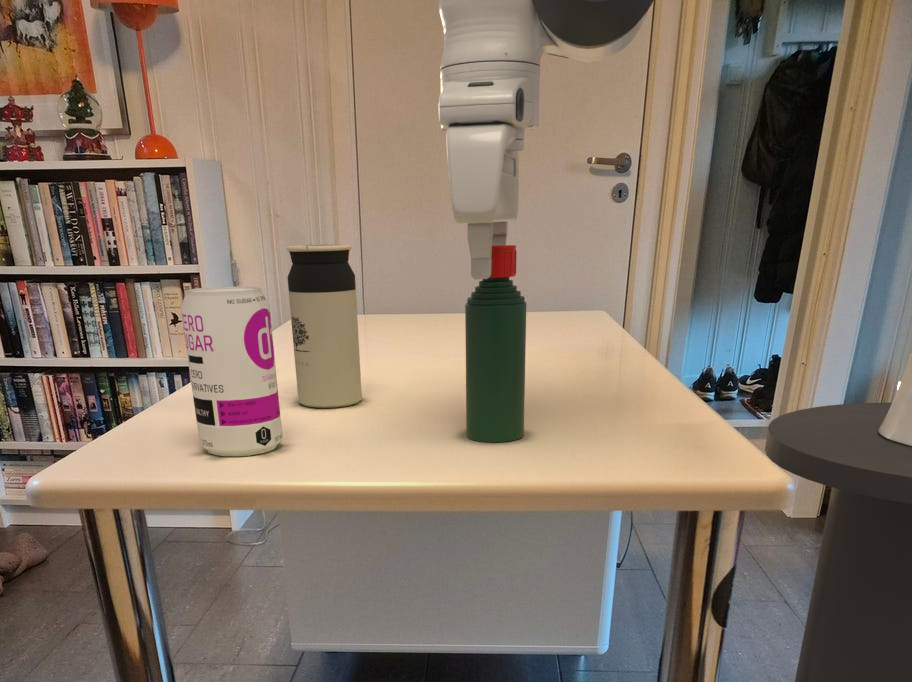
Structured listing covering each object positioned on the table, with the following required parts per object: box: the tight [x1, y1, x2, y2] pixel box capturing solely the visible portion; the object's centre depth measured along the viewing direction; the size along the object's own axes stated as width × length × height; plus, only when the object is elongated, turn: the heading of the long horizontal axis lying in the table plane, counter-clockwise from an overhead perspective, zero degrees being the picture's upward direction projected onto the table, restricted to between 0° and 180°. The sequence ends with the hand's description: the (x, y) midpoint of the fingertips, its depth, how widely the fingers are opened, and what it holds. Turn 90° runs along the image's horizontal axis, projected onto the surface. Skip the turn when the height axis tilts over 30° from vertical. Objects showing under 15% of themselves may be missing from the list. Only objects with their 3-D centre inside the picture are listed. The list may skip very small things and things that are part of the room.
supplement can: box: [180, 285, 283, 457], centre depth 83 cm, size 8×8×15 cm
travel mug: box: [286, 243, 363, 409], centre depth 104 cm, size 8×8×18 cm
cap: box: [490, 244, 517, 278], centre depth 82 cm, size 4×4×3 cm
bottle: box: [464, 277, 527, 443], centre depth 86 cm, size 6×6×18 cm
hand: (488, 275), depth 83 cm, fingers open, 8 cm apart
